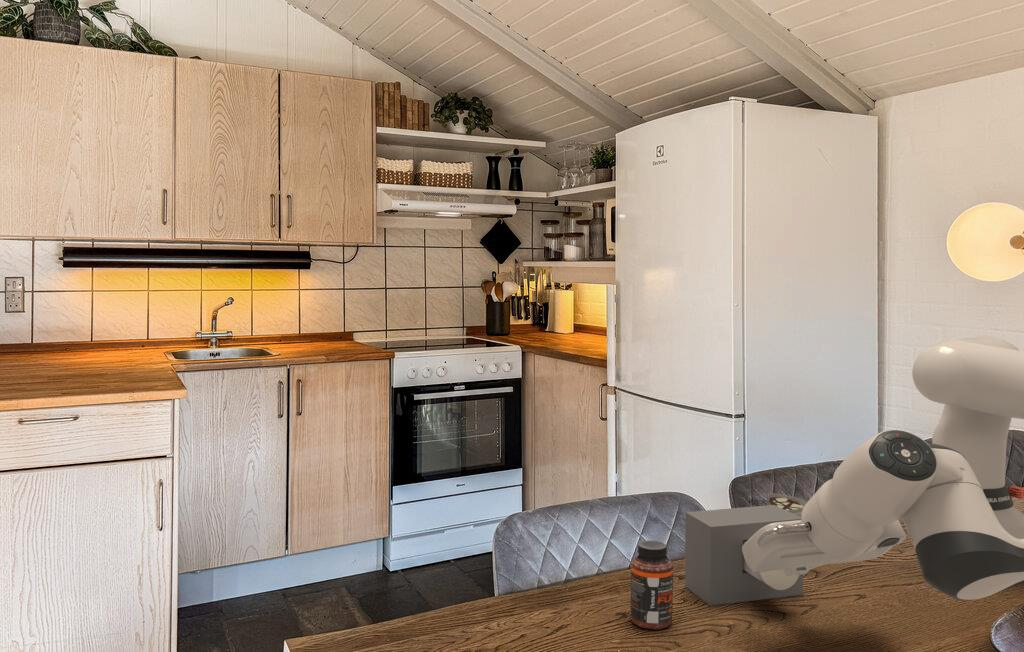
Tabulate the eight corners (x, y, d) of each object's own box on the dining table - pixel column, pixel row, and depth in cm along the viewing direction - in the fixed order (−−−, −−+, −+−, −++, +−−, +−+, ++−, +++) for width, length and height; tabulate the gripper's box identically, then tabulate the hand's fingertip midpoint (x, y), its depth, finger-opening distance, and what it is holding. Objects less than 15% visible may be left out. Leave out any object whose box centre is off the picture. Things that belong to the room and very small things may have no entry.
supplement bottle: (663, 635, 108) (664, 554, 107) (623, 625, 111) (624, 546, 111) (678, 619, 113) (679, 542, 113) (640, 610, 116) (640, 535, 116)
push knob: (768, 568, 122) (769, 530, 122) (800, 587, 114) (801, 547, 114) (734, 572, 121) (734, 534, 120) (764, 592, 113) (764, 551, 113)
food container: (814, 571, 132) (815, 513, 131) (776, 569, 133) (776, 511, 133) (802, 548, 144) (803, 494, 143) (767, 545, 145) (768, 492, 145)
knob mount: (772, 576, 130) (773, 504, 129) (802, 594, 122) (803, 518, 121) (685, 586, 126) (685, 512, 125) (710, 605, 118) (710, 527, 117)
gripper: (778, 551, 96) (735, 599, 106) (917, 537, 102) (864, 584, 111) (758, 506, 100) (719, 556, 110) (893, 494, 106) (843, 543, 116)
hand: (793, 570), depth 111 cm, fingers closed
